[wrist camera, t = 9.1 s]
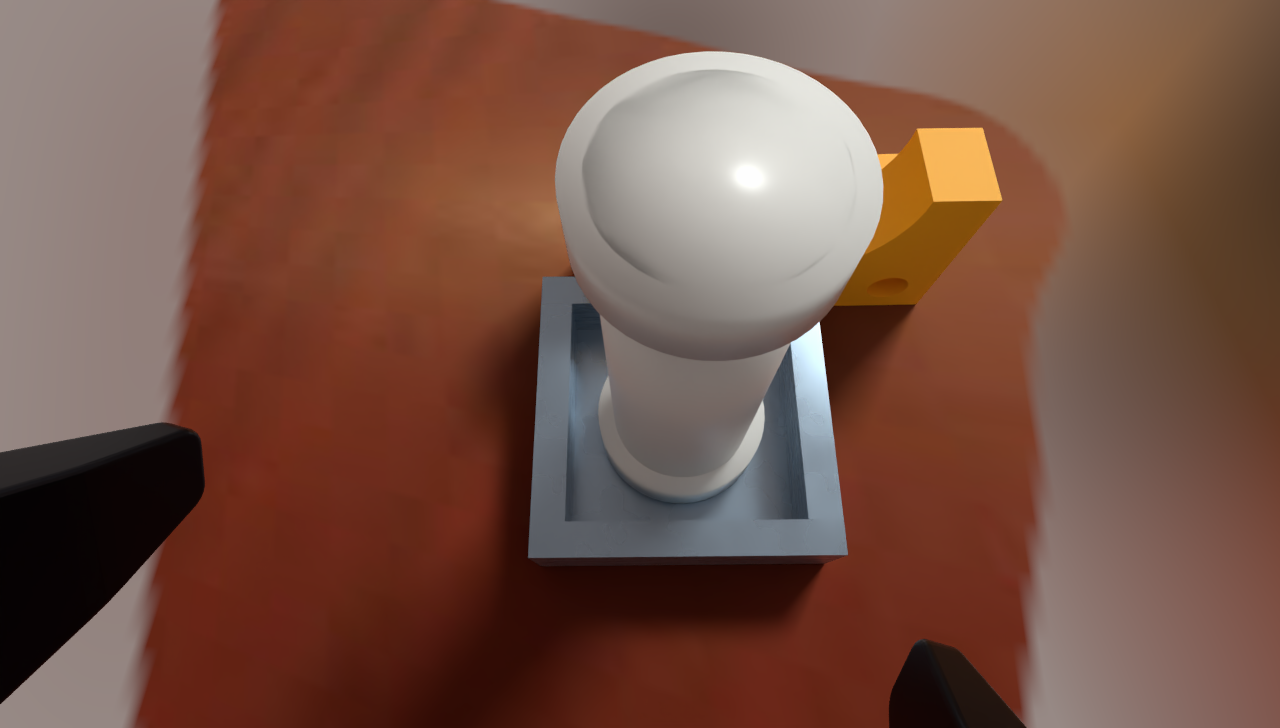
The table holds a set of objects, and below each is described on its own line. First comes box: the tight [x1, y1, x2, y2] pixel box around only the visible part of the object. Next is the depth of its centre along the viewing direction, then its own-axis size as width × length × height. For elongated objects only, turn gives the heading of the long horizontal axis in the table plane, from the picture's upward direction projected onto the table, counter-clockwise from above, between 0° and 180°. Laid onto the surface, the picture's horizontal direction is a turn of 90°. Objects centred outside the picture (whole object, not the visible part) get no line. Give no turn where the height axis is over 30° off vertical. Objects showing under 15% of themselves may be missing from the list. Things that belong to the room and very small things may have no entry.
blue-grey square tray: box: [528, 277, 848, 566], centre depth 22 cm, size 9×9×2 cm
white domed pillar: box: [555, 52, 883, 503], centre depth 16 cm, size 5×5×13 cm
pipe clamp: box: [834, 128, 1002, 306], centre depth 22 cm, size 12×4×6 cm, turn 91°
